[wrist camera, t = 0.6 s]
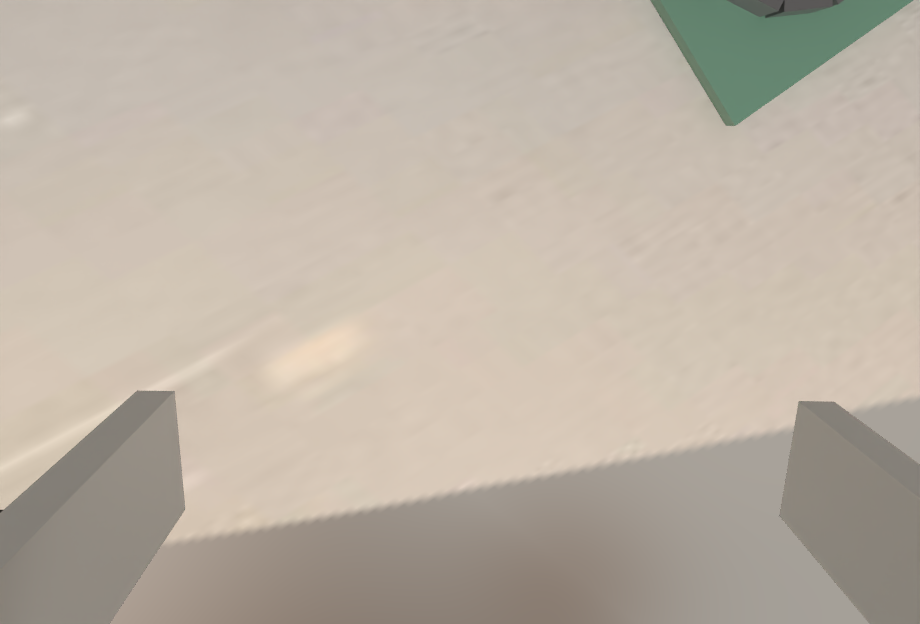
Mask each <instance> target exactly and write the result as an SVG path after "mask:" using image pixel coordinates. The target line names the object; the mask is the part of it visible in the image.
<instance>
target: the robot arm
mask: <svg viewBox="0 0 920 624" xmlns="http://www.w3.org/2000/svg"><path fill="white" fill-rule="evenodd" d="M184 510H185V502H184V491H183V479H182V468H181V457H180V446H179V435H178V424H177V413H176V402H175V391H136V392H135V393H134V394H133V395H132V396H131V397H130V398H128V399H127V400H126V401H125V402H124V403H123V404H122V405H121V406H120V407H118V408H117V409H116V410H115V411H114V412H113V413H112V414H111V415H109V416H108V417H107V418H106V419H105V420H104V421H103V422H102V423H100V424H99V425H98V426H97V427H96V428H95V429H94V430H93V431H92V432H90V433H89V434H88V435H87V436H86V437H85V438H84V439H83V440H81V441H80V442H79V443H78V444H77V445H76V446H75V447H74V448H73V449H71V450H70V451H69V452H68V453H67V454H66V455H65V456H64V457H62V458H61V459H60V460H59V461H58V462H57V463H56V464H55V465H53V466H52V467H51V468H50V469H49V470H48V471H47V472H46V473H45V474H43V475H42V476H41V477H40V478H39V479H38V480H37V481H36V482H34V483H33V484H32V485H31V486H30V487H29V488H28V489H27V490H26V491H24V492H23V493H22V494H21V495H20V496H19V497H18V498H17V499H15V500H14V501H13V502H12V503H11V504H10V505H9V506H8V507H6V508H5V509H4V510H0V624H110V622H111V621H112V619H113V618H114V616H115V615H116V613H117V612H118V610H119V609H120V607H121V606H122V604H123V603H124V601H125V600H126V598H127V597H128V595H129V594H130V592H131V591H132V589H133V588H134V586H135V585H136V583H137V582H138V580H139V579H140V577H141V575H142V574H143V572H144V571H145V569H146V568H147V566H148V565H149V563H150V562H151V560H152V559H153V557H154V556H155V554H156V553H157V551H158V550H159V548H160V547H161V545H162V544H163V542H164V541H165V539H166V538H167V536H168V535H169V533H170V531H171V530H172V528H173V527H174V525H175V524H176V522H177V521H178V519H179V518H180V516H181V515H182V513H183V512H184ZM779 516H780V517H781V518H782V520H783V521H784V522H785V523H786V524H787V526H788V527H789V528H790V529H791V530H792V531H793V533H794V534H795V535H796V536H797V538H798V539H799V540H800V541H801V542H802V543H803V544H804V546H805V547H806V548H807V549H808V551H809V552H810V553H811V554H812V555H813V557H814V558H815V559H816V560H817V561H818V563H819V564H820V565H821V566H822V567H823V569H824V570H825V571H826V572H827V573H828V575H829V576H830V577H831V578H832V579H833V580H834V582H835V583H836V584H837V585H838V587H839V588H840V589H841V590H842V591H843V592H844V594H845V595H846V596H847V597H848V598H849V600H850V601H851V602H852V603H853V604H854V606H855V607H856V608H857V609H858V610H859V611H860V613H861V614H862V615H863V616H864V617H865V618H866V620H867V621H868V622H869V623H870V624H920V464H918V463H917V462H915V461H914V460H913V459H911V458H910V457H909V456H907V455H906V454H905V453H903V452H902V451H901V450H899V449H898V448H896V447H895V446H894V445H892V444H891V443H890V442H888V441H887V440H886V439H884V438H883V437H881V436H880V435H879V434H877V433H876V432H875V431H873V430H872V429H871V428H869V427H868V426H866V425H865V424H864V423H862V422H861V421H860V420H858V419H857V418H856V417H854V416H853V415H851V414H850V413H849V412H847V411H846V410H845V409H843V408H842V407H841V406H839V405H838V404H836V403H835V402H814V401H799V402H798V408H797V414H796V420H795V426H794V432H793V438H792V444H791V450H790V456H789V462H788V468H787V473H786V479H785V485H784V492H783V497H782V504H781V509H780V515H779Z"/></svg>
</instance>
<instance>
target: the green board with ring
mask: <svg viewBox="0 0 920 624" xmlns="http://www.w3.org/2000/svg"><path fill="white" fill-rule="evenodd" d="M912 1H913V0H651V2H652V3H653V5H654V7H655V8H656V10H657V12H658V13H659V15H660V17H661V18H662V20H663V22H664V23H665V25H666V27H667V28H668V30H669V32H670V33H671V35H672V37H673V38H674V40H675V42H676V43H677V45H678V47H679V48H680V50H681V52H682V53H683V55H684V57H685V58H686V60H687V62H688V63H689V65H690V67H691V68H692V70H693V72H694V73H695V75H696V77H697V78H698V80H699V82H700V83H701V85H702V87H703V88H704V90H705V92H706V93H707V95H708V97H709V98H710V100H711V102H712V103H713V105H714V107H715V108H716V110H717V112H718V113H719V115H720V117H721V118H722V120H723V122H724V123H725V125H726V126H735V125H737V124H738V123H740V122H741V121H743V120H744V119H745V118H747V117H748V116H750V115H751V114H753V113H754V112H755V111H757V110H758V109H760V108H761V107H762V106H764V105H765V104H767V103H768V102H770V101H771V100H772V99H774V98H775V97H777V96H778V95H779V94H781V93H782V92H784V91H785V90H787V89H788V88H789V87H791V86H792V85H794V84H795V83H797V82H798V81H799V80H801V79H802V78H804V77H805V76H806V75H808V74H809V73H811V72H812V71H814V70H815V69H816V68H818V67H819V66H821V65H822V64H824V63H825V62H826V61H828V60H829V59H831V58H832V57H833V56H835V55H836V54H838V53H839V52H841V51H842V50H843V49H845V48H846V47H848V46H849V45H850V44H852V43H853V42H855V41H856V40H858V39H859V38H860V37H862V36H863V35H865V34H866V33H868V32H869V31H870V30H872V29H873V28H875V27H876V26H877V25H879V24H880V23H882V22H883V21H885V20H886V19H887V18H889V17H890V16H892V15H893V14H895V13H896V12H897V11H899V10H900V9H902V8H903V7H904V6H906V5H907V4H909V3H910V2H912Z"/></svg>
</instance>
